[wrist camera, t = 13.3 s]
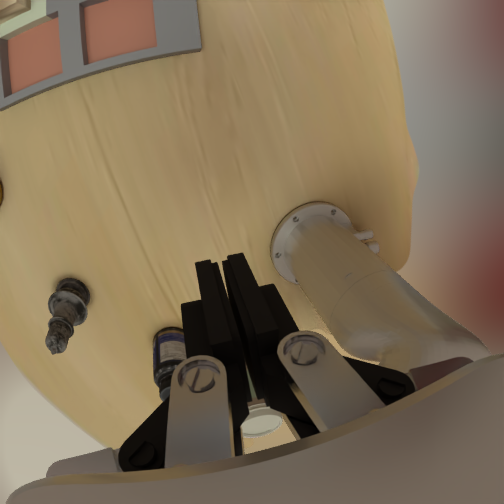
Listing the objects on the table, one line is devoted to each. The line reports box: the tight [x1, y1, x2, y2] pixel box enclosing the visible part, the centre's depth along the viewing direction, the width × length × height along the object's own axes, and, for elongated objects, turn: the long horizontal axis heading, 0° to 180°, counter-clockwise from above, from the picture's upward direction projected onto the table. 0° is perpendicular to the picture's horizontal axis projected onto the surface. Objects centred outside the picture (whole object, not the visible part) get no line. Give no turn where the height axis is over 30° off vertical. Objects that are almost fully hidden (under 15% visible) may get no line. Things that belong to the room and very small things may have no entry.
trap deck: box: [0, 0, 202, 111], centre depth 20 cm, size 25×18×6 cm
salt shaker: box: [45, 278, 90, 355], centre depth 33 cm, size 6×6×12 cm
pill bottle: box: [153, 328, 187, 401], centre depth 41 cm, size 6×6×11 cm
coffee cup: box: [241, 366, 283, 438], centre depth 49 cm, size 8×9×12 cm
